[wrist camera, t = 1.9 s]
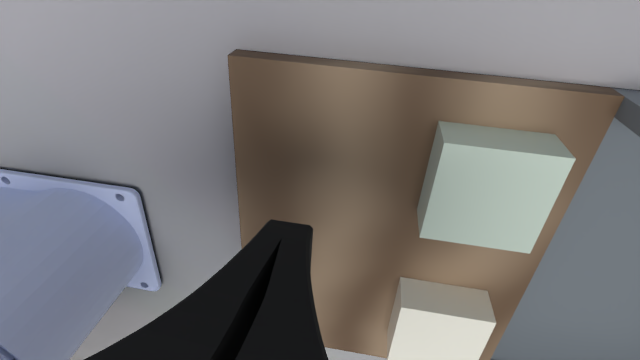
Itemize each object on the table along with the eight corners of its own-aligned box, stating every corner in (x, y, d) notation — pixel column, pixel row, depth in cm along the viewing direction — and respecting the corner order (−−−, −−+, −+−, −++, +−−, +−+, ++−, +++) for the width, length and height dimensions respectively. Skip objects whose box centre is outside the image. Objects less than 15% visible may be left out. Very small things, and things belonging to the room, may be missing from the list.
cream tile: (387, 330, 23) (387, 360, 21) (400, 277, 20) (401, 307, 19) (464, 343, 22) (470, 376, 21) (487, 290, 20) (496, 323, 18)
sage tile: (416, 209, 18) (419, 237, 16) (438, 120, 15) (444, 142, 14) (516, 223, 17) (530, 253, 16) (555, 134, 15) (575, 158, 13)
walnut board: (252, 320, 26) (247, 332, 25) (236, 49, 16) (227, 55, 15) (479, 360, 24) (482, 375, 23) (611, 87, 15) (625, 96, 14)
